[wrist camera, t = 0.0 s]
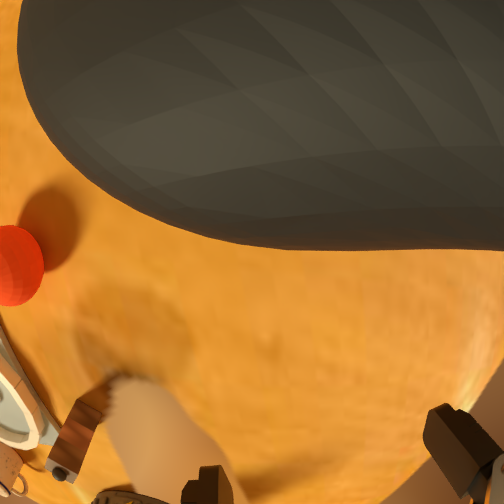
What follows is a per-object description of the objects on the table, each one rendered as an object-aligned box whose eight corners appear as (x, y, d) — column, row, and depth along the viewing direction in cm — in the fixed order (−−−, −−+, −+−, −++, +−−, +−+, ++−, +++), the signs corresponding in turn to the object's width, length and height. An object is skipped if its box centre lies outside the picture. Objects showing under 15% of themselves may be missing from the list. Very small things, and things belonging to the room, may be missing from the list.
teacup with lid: (-18, 437, 31) (-40, 474, 20) (-7, 429, 30) (-33, 471, 19) (27, 476, 34) (10, 515, 23) (43, 472, 33) (25, 517, 22)
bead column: (71, 412, 29) (41, 475, 18) (76, 398, 28) (43, 465, 18) (94, 426, 29) (69, 492, 19) (102, 413, 29) (75, 483, 18)
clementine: (-5, 266, 23) (-47, 292, 16) (4, 203, 21) (-45, 218, 15) (51, 300, 24) (13, 335, 18) (64, 234, 23) (18, 259, 16)
